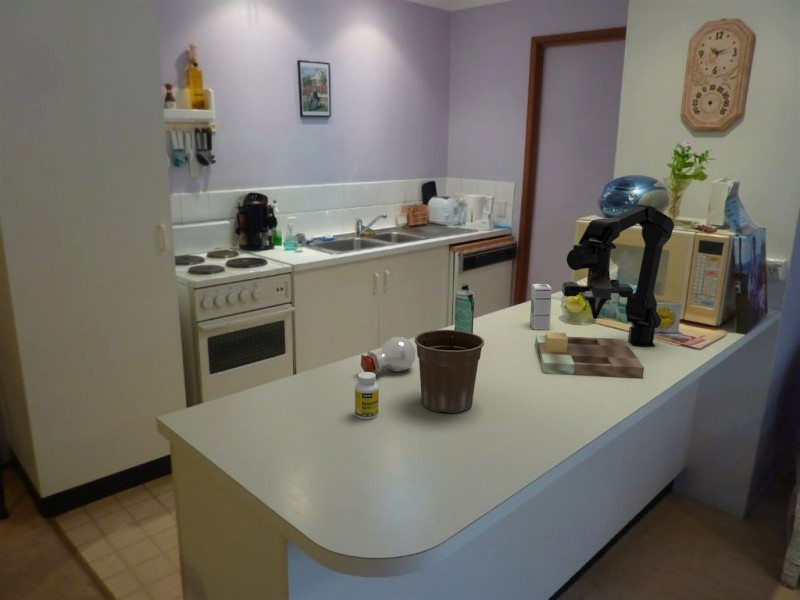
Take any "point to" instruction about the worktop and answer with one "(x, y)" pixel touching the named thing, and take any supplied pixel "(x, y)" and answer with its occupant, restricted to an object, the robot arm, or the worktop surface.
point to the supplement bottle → (366, 396)
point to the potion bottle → (390, 356)
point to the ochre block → (556, 342)
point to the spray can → (464, 309)
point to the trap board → (590, 358)
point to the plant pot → (448, 368)
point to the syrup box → (540, 306)
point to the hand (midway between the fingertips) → (594, 318)
